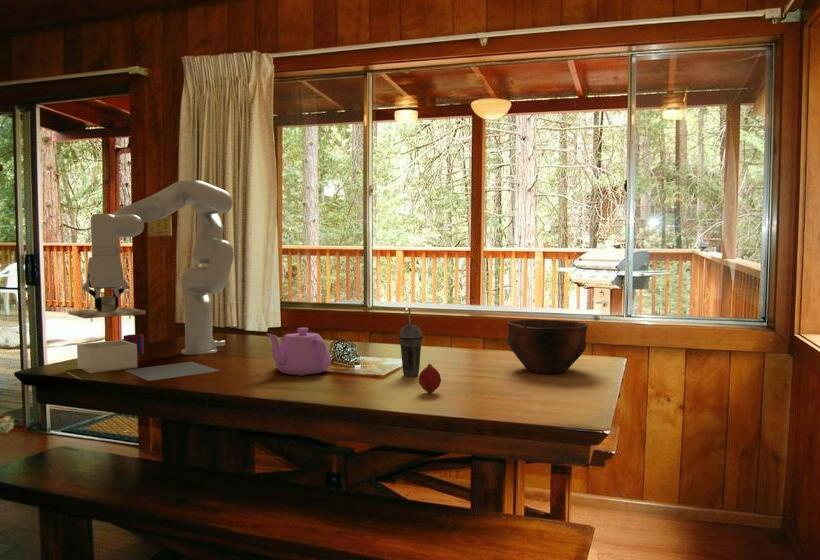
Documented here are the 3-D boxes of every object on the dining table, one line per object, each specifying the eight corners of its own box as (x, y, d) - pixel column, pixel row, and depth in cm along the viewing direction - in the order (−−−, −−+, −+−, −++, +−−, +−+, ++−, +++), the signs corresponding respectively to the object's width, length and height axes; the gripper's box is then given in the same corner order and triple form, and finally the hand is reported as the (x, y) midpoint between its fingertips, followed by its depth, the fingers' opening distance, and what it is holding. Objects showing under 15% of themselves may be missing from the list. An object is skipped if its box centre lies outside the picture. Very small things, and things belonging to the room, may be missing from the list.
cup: (147, 353, 239) (147, 334, 239) (126, 357, 230) (126, 338, 230) (134, 352, 242) (133, 333, 241) (112, 356, 233) (111, 337, 232)
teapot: (247, 373, 199) (246, 329, 198) (303, 364, 215) (302, 322, 214) (290, 383, 184) (289, 335, 183) (347, 372, 200) (347, 328, 199)
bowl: (594, 366, 207) (594, 319, 206) (580, 381, 184) (580, 328, 184) (518, 361, 217) (518, 316, 217) (496, 374, 195) (496, 324, 194)
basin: (123, 363, 218) (122, 339, 217) (137, 369, 207) (136, 344, 207) (77, 368, 209) (77, 344, 208) (90, 375, 198) (89, 349, 198)
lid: (126, 310, 220) (125, 293, 219) (145, 314, 206) (145, 296, 206) (68, 314, 208) (67, 297, 207) (85, 318, 194) (84, 300, 194)
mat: (191, 363, 217) (191, 361, 217) (220, 372, 201) (220, 370, 201) (123, 372, 203) (123, 370, 203) (148, 382, 186) (148, 380, 186)
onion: (418, 391, 173) (417, 361, 173) (439, 390, 174) (439, 361, 173) (420, 396, 168) (420, 365, 167) (442, 395, 168) (442, 365, 168)
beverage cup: (426, 374, 197) (425, 308, 195) (418, 378, 190) (418, 310, 189) (403, 372, 199) (403, 307, 198) (395, 377, 192) (394, 310, 191)
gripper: (128, 252, 214) (129, 307, 215) (73, 253, 203) (74, 311, 204) (136, 252, 209) (137, 308, 210) (79, 253, 198) (81, 312, 198)
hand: (106, 309), depth 207 cm, fingers closed on lid, 4 cm apart
